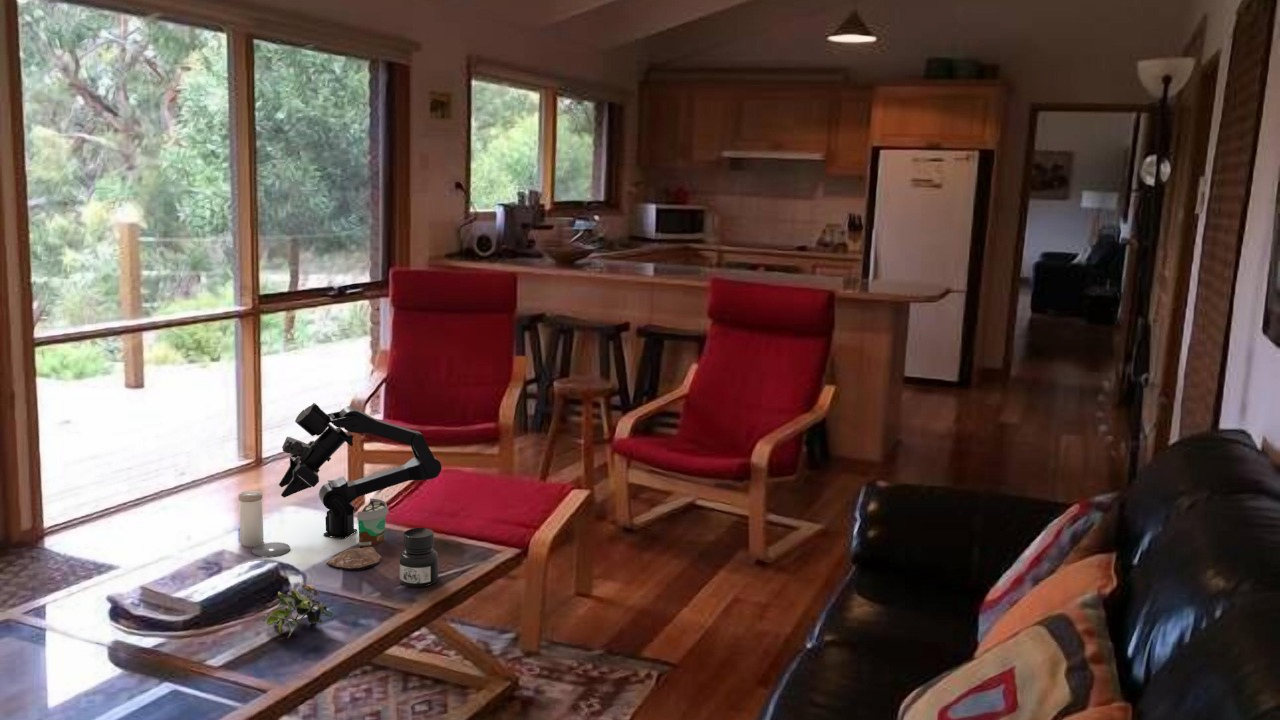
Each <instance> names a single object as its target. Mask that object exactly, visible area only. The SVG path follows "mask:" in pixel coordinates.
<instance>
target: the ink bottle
mask: <svg viewBox="0 0 1280 720" xmlns="http://www.w3.org/2000/svg"><path fill="white" fill-rule="evenodd" d="M434 532H435V531H434V530H432V529H430V528H428V527H427V528H424V527H415V528H410V529H407V530H405V531H404V533H403V545H404V546H403V548H404V550H403V551H402V552H401V553H400V555H399V582H400V583H401V585H404V586H405V587H412V588H422V587H421V586H425V587H427V586H426V585H428V584H431V583H433V582H435V581H436V580H437V579H438V580H439V554H438V552H437V551H436V550H435V549H434V541H435V540H434V538H435V537H434ZM438 580H437V581H438ZM437 581H436V582H437ZM436 582H435V583H436ZM431 585H432V584H431Z"/></svg>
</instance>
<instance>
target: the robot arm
mask: <svg viewBox="0 0 1280 720" xmlns="http://www.w3.org/2000/svg"><path fill="white" fill-rule="evenodd" d="M294 422H295V423H296V424H297V425H298V426H299V427H301V429H303V430H304V431H305V432H306V433H308V434H309V435H310V436H311V437H314V436H317V438H316V439H315V440H310V441H309V442H308V443H306V442H304V441H301V440H298V439H297V438H293V437H291V436H286V437H285V441H284V443H283V445H282V446H281V447H282V448H281V449H282V452H284V453H286V454H290V456H289V466H288V468H287V470H286V472H285V474H284V475H283V477H282V478H281V480H280V482H279V484H278V486H279V487H280V488H283V487H284V489H283V491H282V492H281V495H280V496H281V497H282V498H286V497H289V496H292V495H294V494H296V493H299V492H301V491H304V490H307V489H311V488H312V487H313V488H315V487H316V486H317V484H318V483H320V477H319V472H320V471H321V469H320V468H321V467H322V466H323V465H324V464H325V463H326V462H330V461H331V460H332V456H333V455H334V454H335V453H336V452H337V450H338V449H340V447H342V446H343V444H344V443H347V444H348V445H349V446H350V447H353V445H354V441H353V440H354V434H371V435H375V436H379V437H382V438H385V439H389V440H392V441H395V442H399V443H402V444H405V445H408V446H410V448H411V451H412V454H413V456H414V457H411V459H409V460H408V461H407V462H406V463H404V464H402V465H400V466H397V467H393V468H390V469H387V470H384V471H381V472H378V473H377V472H376V473H374V474H371V475H368V476H365V477H362V478H359V479H354V480H349V481H348V480H346V478H345V477H344V476H340V477H337V478H335V479H333V480H329V479H328V480H327V483H324V484H323V485H321V488H320V489H319V492H318V497H319V500H320V501H321V503H322V504H323V506H324V507H325V508H326V509H328V510H327V511H326V515H325V518H324V519H325V520H324V521H325V531H326V532H324V533H323V536H325V537H330V536H332V537H331V538H337V539H346V538H347V537H350V536H351V534H352V535H354V534H355V533H357V532H358V528H355V520H354V519H355V515H354V514H355V513H354V512H355V507H354V505H353V501H355V500H356V499H357V498H360V497H362V496H365V495H368V494H371V493H375V492H378V491H381V490H385V489H387V488H390V487H394V486H397V485H400V484H403V483H406V482H408V481H409V482H410V481H419V482H420V481H421V482H422V481H427V480H433V479H436V478H437V477H439V475H440V473H441V472H442V468H443V467H442V463H441V462H440V460H438V459H437V458H436V457H435V456H434V454H433V452H432V451H431V448H430V447H429V446H428V443H427V440H426V439H425V436H424V434H422V433H421V432H420V431H419V430H412V429H409V428H407V427H403V426H399V425H397V424H395V423H394V424H393V423H390V422H387V421H383V420H380V419H377V418H374V417H373V416H371V415H369V414H368V413H365V412H364V411H362V410H360V409H358V408H356V407H354V406H350V405H349V406H346V407H344V408H342V409H340V410H339V411H335V412H330V413H326V412H324V410H323V409H321V408H320V406H319V405H318V404H317V403H316V402H313V403H312V404H311V405H310V406H308V407H306V408H305V409H302V410H301V411H300V413H299V414H298V415H297V416H296V418H295V420H294ZM334 426H335V427H334ZM343 429H344V430H343ZM346 431H347V432H348V433H347V432H346ZM353 433H354V434H353ZM356 531H357V532H356ZM354 532H355V533H354Z"/></svg>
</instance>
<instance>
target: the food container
mask: <svg viewBox="0 0 1280 720" xmlns="http://www.w3.org/2000/svg"><path fill="white" fill-rule="evenodd" d="M389 512H390V511H389V507H388V505H387V503H386V502H385V500H382V499H377V498H372V497H371V498H370V499H369V503H368V504H367V505H366V506H364V508H363V509H362V510H361V511H357V516H356V517H357V519H356V521H357V522H358V523H357V524H358V528H357V529H358V541H359V542H358V544H359V547H358V548H365V547H373V548H376V547H378V546H381V545H382V543H383V544H384V542H385V535H386V534H385V533H386V532H385V531H386V518H387V517H386V516H387V515H388V514H389Z"/></svg>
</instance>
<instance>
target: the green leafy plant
mask: <svg viewBox="0 0 1280 720" xmlns="http://www.w3.org/2000/svg"><path fill="white" fill-rule="evenodd" d="M302 588H304V590H306V591H307V592H309V593H308V594H306V593H304V592H303V591H301V590H297V589H292V590H291V589H290V590H289V591H288V592H287V594H285V593H281V592H280V591H278V592H277V595H278V598H279V599H280V602H279V604H278V609H275V610H274V611H273V612H272V613H269V612H265V614H264V615H263V617H262V618H261V621H263V622H266V625H267V626H271V625H273V626H274V627H276V626H277V625H278V624H279V626H278V632H279V633H280V634H281V633H282V629H283V626H284V624H285V623H287V622H288V628H289V634H288V636H287V638H286V639H289V638H290V637H291V635H292V633H293V632H294V630H296V628H297V627H298V626H299V624H300V622H301V621H302V620H303V619H304V618H305V616H306V617H307V619H308V620H307V621H308V622H309V623H310V624H312V625H314V624H316V623H318V624H319V623H320V624H322V623H323V621H322V620H323V619H322V618H321V616H322V615H325V616H326V617H329V618H332V617H333V616H334V612H331V611H329V610H328V608H327V604H326V603H323V602H321V601H322V598H318V597H313V595H314V596H318V595H321V592H320V591H319V590H318V589H316V587H312V586H310V585H306V584H302ZM286 606H287V607H286ZM283 607H285V608H284V609H283ZM295 611H296V613H297V615H296V617H295V618H294V617H293V614H292V613H293V612H295ZM299 615H300V616H302V617H300V618H299V619H298V617H299ZM266 618H267V620H266ZM289 619H290V620H289Z"/></svg>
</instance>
